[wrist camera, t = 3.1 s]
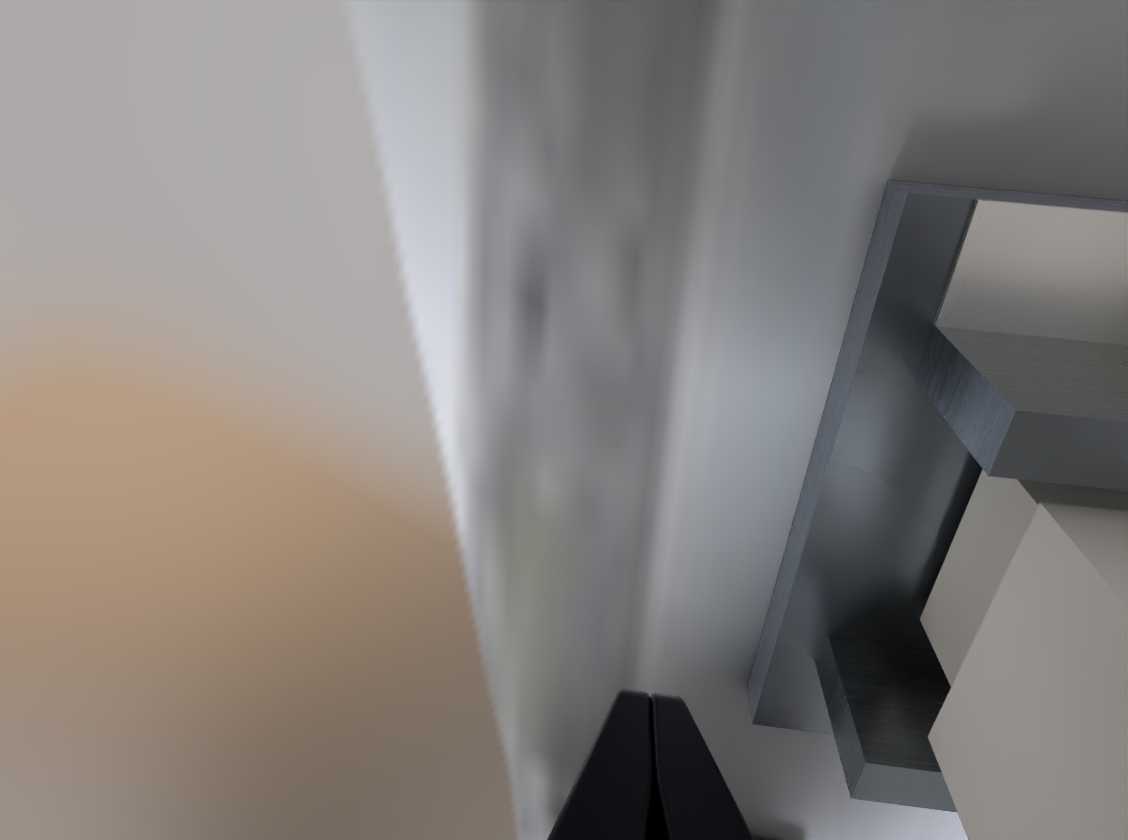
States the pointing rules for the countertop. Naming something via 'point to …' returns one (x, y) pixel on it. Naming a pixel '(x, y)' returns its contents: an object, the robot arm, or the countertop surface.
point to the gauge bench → (938, 452)
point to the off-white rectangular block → (1035, 662)
